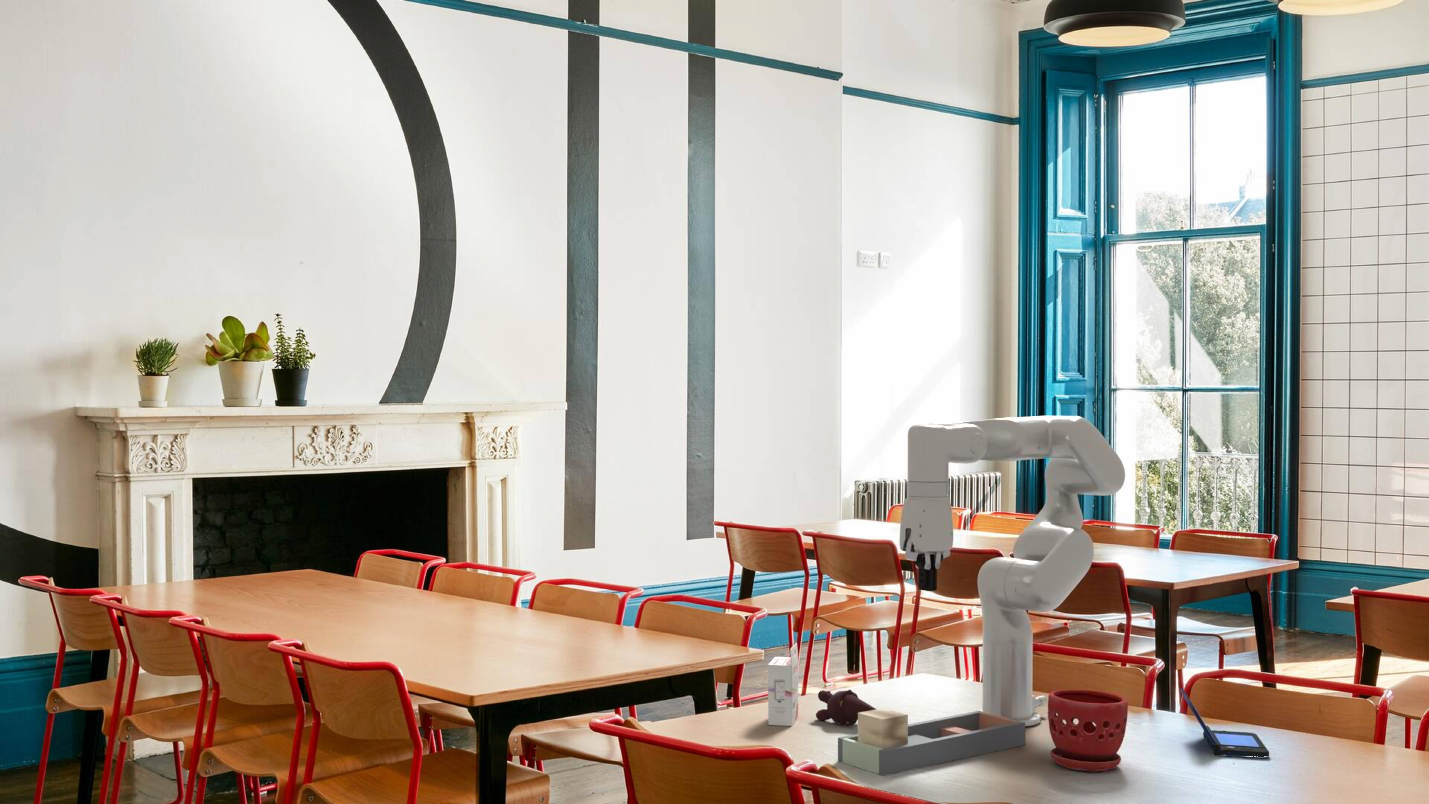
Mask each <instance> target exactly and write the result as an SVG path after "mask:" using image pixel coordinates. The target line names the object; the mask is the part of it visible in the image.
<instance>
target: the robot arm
mask: <svg viewBox="0 0 1429 804" xmlns="http://www.w3.org/2000/svg"><path fill="white" fill-rule="evenodd" d="M1040 459H1049V460H1048V462H1047V464H1046V467H1045V470H1044V471H1045V472H1044V481H1045V502H1044V505H1043V507H1042V509H1040V511H1039V512H1038V514H1037V515H1036V516H1035V517H1033V519H1032V520H1031V522H1029V524H1027V526H1026V527H1025V528H1024V529H1023V531H1021V533H1020V534H1018V537H1017V538H1016V540H1015V542H1014V545H1013V548H1012V554H1013V557H1005V556H1004V557H1003V556H998V557H994V558H991V559H989V560H987V561H985V562H984V564H982V565H981V567H980V569H979V572H978V575H977V592H978V596H979V599H980V600H979V601H980V606H981V615H982V708H979V709H976V711H980V712H984V713H988V714H992V715H996V716H1000V717H1004V718H1008V719H1012V720H1017V721H1021V722H1025V727H1031V726H1036V725H1038V724H1039V723H1041V715H1040V714H1039V713H1038V712H1036V709H1037V708H1038V707H1042V706H1046V705H1048V697H1046V696H1045V695H1039V696H1036V695H1033V649H1034V648H1033V647H1034V645H1033V644H1034V643H1033V640H1034V638H1033V637H1034V636H1033V633H1034V632H1033V626H1032V623H1031V619H1030V617H1029V615H1028V612H1027V611H1031V612H1035V613H1048V612H1052V611H1053V610H1055V609H1057V608H1058V607H1059V606H1060V605H1061V604H1062V603H1063V602H1064V601H1065V600H1066V599H1067V597H1068V596H1069V595H1070V594H1071V593H1072V591H1074V590H1075V588H1076V587H1077V586H1078V584H1079V583H1080V582H1081V581H1082V580H1083V578H1084V577H1085V576H1086V574H1087V573H1088V571H1089V570H1090V568H1091V566H1092V563H1093V560H1094V556H1095V555H1094V554H1095V546H1094V541H1093V539H1092V538H1091V536H1090V535H1089V533H1088V532H1086V531H1085V530H1084V529H1082V527H1083V524H1084V517H1083V512H1082V509H1081V506H1080V502H1079V497H1078V495H1086V496H1087V495H1089V496H1100V497H1101V496H1104V497H1105V496H1111V495H1114V494H1116V493H1118V492H1119V491H1120V490H1121V489H1122V488H1123V486H1124V483H1125V479H1126V472H1125V468H1124V467H1125V466H1124V464H1123V462H1122V460H1121V458H1120V456H1119V455H1118V454H1117V452H1116V451H1115V450H1114V448H1113V447H1112V446H1111V445H1110V443H1109V442H1108V441H1107V439H1106V438H1105V437H1104V435H1103V434H1102V433H1101V432H1100V431H1099V430H1098V428H1097V427H1096V426H1095V425H1094V424H1093V423H1092V422H1091V421H1089V420H1088V419H1086V418H1084V417H1082V416H1079V415H1038V416H1020V417H1019V416H1017V417H1002V418H1001V417H1000V418H999V417H997V418H990V419H989V418H988V419H981V420H980V419H979V420H969V421H968V420H967V421H966V420H964V421H951V422H950V421H948V422H931V423H928V424H914V425H911V426H910V427H909V428H908V432H907V498H904V500H903V504H902V509H901V516H900V523H899V524H900V528H899V549H900V550H901V551H903V552H905V553H904V558H905V560H908V561H912V562H913V563H914V564H915V568H917V570H918V587H917V588H918V590H919V591H926V592H933V591H934V592H936V591H937V589H938V569H939V568H940V567H941V562H942V560H943V559H946V558H948V557H950V556H951V549H952V548H953V546H954V519H953V518H954V517H953V510H952V503H951V498H950V497H949V491H950V490H951V486H950V484H949V476H950V475H949V466H950V465H949V463H950V464H973V463H976V462H978V461H985V462H987V461H989V462H1017V461H1026V460H1040Z"/></svg>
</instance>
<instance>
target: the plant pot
mask: <svg viewBox="0 0 1429 804" xmlns="http://www.w3.org/2000/svg"><path fill="white" fill-rule="evenodd" d="M1128 710H1129V702H1128V700H1127V698H1125V697H1123V696H1121V695H1118V694H1114V693H1111V692H1105V691H1098V690H1090V689H1089V690H1088V689H1072V688H1071V689H1069V688H1068V689H1056V690H1053V691H1051V692H1048V697H1047V719H1048V728H1049V734H1050V736H1051V739H1052V742H1053V745H1054V747H1053V748H1052V749H1051V750H1050V751H1049V752H1050V756H1051V759H1053V761H1054V762H1055V763H1056V764H1058V765H1060V766H1062V767H1064V768H1067V769H1069V770H1071V771H1081V772H1082V771H1083V772H1105V771H1109V770H1112V769H1115V768H1116V767H1117V766H1118V765H1119V764H1120V763H1121V762H1122V761H1121V760H1122V757H1121V755H1120V754H1119V753H1118V752H1119V750H1120V748H1121V746H1122V744H1123V742H1124V739H1125V735H1126V729H1127V724H1128V723H1127V721H1128V713H1129V712H1128ZM1075 719H1077V720H1078V721H1077V723H1074V720H1075ZM1064 721H1065V722H1064Z"/></svg>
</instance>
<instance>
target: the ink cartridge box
mask: <svg viewBox="0 0 1429 804" xmlns="http://www.w3.org/2000/svg"><path fill="white" fill-rule="evenodd" d="M789 655H790V657H789V656H786V657H785V656H774V657H773V658H772V660H771V661H769V663H767V694H768V695H767V698H768V699H767V705H768V706H767V708H768V710H767V712H768V721H767V722H768V726H780V727H781V726H782V727H792V726H793V725H794V724H795V722H796V720H797V719H798V717H799V651H798V643H797V642H795V643H794V644H793V645H792V646H791V648H790V650H789Z"/></svg>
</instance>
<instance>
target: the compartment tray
mask: <svg viewBox="0 0 1429 804" xmlns="http://www.w3.org/2000/svg"><path fill="white" fill-rule="evenodd" d="M1022 746H1026V726H1025V722H1021V721H1017V720H1012V719H1008V718H1004V717H1000V716H996V715H992V714H988V713H984V712H980V711H977V710H975V711H971V712H966V713H960V714H955V715H950V716H945V717H939V718H933V719H929V720H928V719H927V720H924V721H923V720H922V721H918V722H913V723H908V744H906V745H901V746H896V747H891V748H886V749H881V748H878V747H875V746H871V745H868V744H865V743H861V742H858V733H856V734H850V735H845V736H839V737H837V761H838V762H839V763H842V764H846V765H849V766H851V767H854V768H855V767H856V768H859V769H861V770H865V771H868V772H871V773H874V774H877V775H881V776H884V777H885V776H890V775H893V774H899V773H903V772H909V771H911V770H916V769H922V768H925V767H929V766H930V767H931V766H934V765H939V764H944V763H949V762H953V761H957V760H962V759H967V758H970V757H972V758H973V757H976V756H981V755H984V754H989V753H993V752H998V751H1003V750H1007V749H1011V748H1017V747H1022Z"/></svg>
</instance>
